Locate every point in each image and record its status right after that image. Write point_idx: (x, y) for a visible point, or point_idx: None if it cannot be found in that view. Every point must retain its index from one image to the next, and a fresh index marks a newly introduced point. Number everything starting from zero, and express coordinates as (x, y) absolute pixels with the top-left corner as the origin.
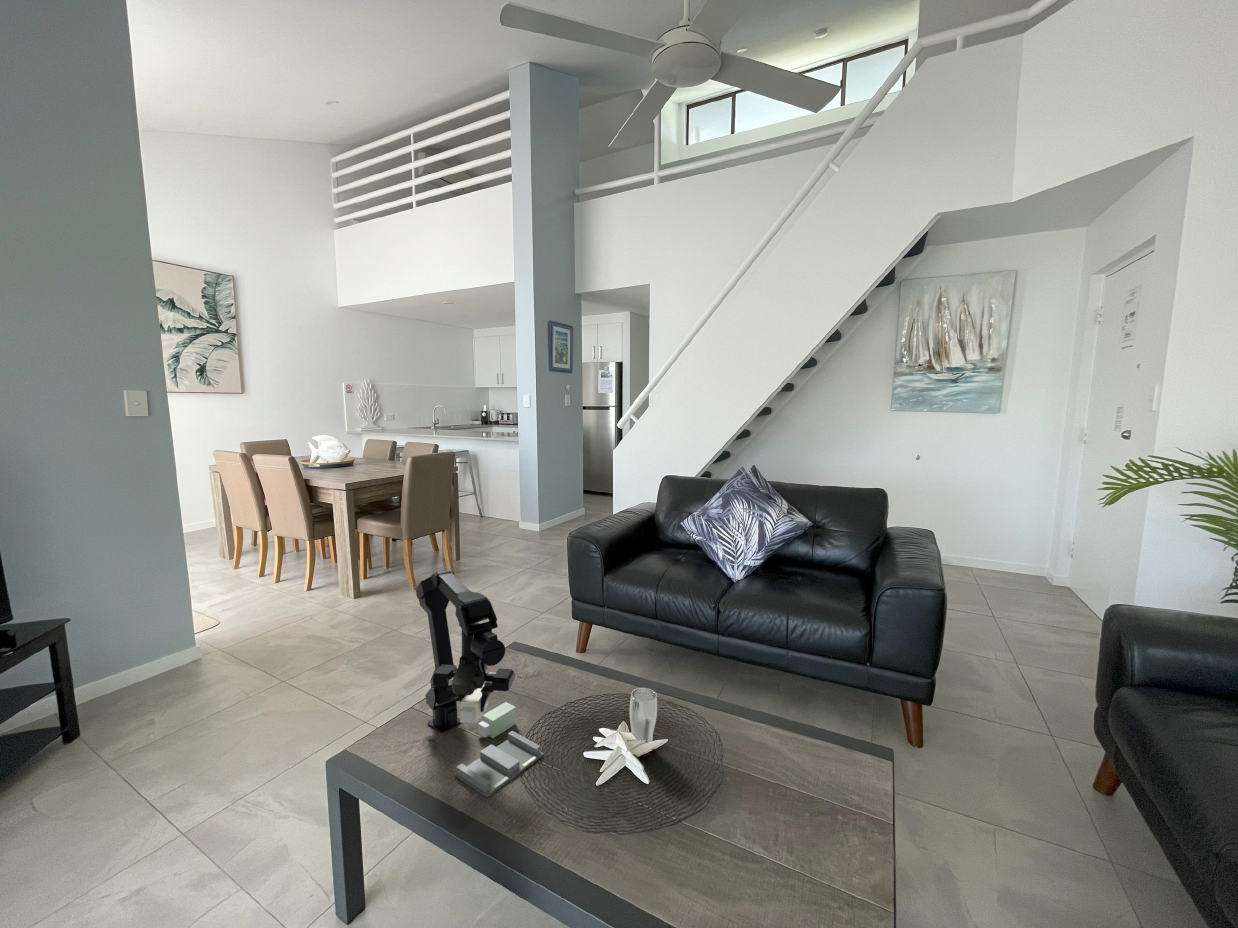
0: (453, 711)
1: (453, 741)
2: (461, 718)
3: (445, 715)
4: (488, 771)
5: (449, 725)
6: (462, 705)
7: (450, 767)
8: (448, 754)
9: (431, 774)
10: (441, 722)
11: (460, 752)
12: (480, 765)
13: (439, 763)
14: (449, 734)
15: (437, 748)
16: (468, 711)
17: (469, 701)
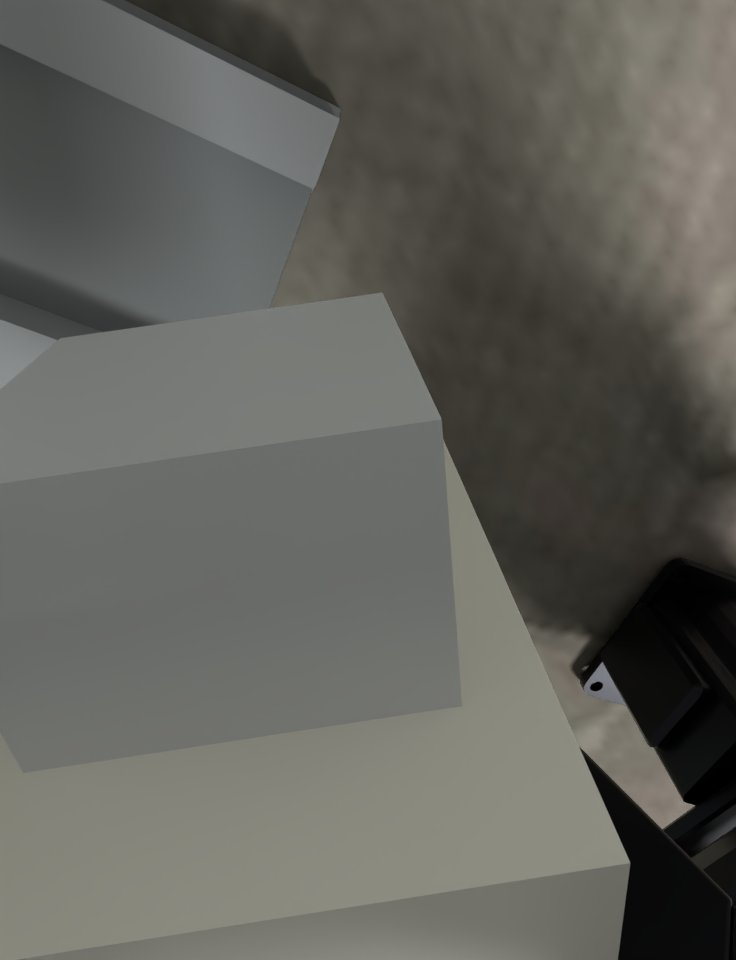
0: (672, 719)
1: (553, 503)
2: (344, 329)
3: (721, 670)
4: (56, 231)
5: (646, 617)
6: (492, 721)
7: (441, 214)
8: (530, 363)
9: (572, 69)
10: (719, 621)
11: (444, 410)
12: (177, 288)
13: (559, 237)
14: (612, 558)
15: (645, 402)
16: (40, 496)
17: (244, 958)
